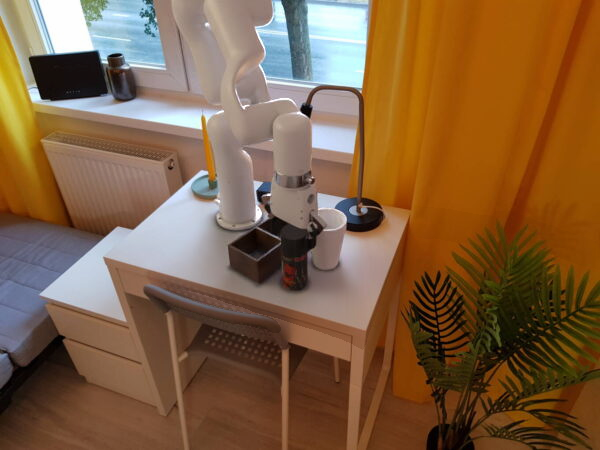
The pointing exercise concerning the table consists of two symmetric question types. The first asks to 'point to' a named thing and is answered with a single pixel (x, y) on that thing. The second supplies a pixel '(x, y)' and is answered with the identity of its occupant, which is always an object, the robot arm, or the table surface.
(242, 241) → the organiser
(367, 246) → the table surface
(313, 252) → the foam cup
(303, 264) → the deodorant
